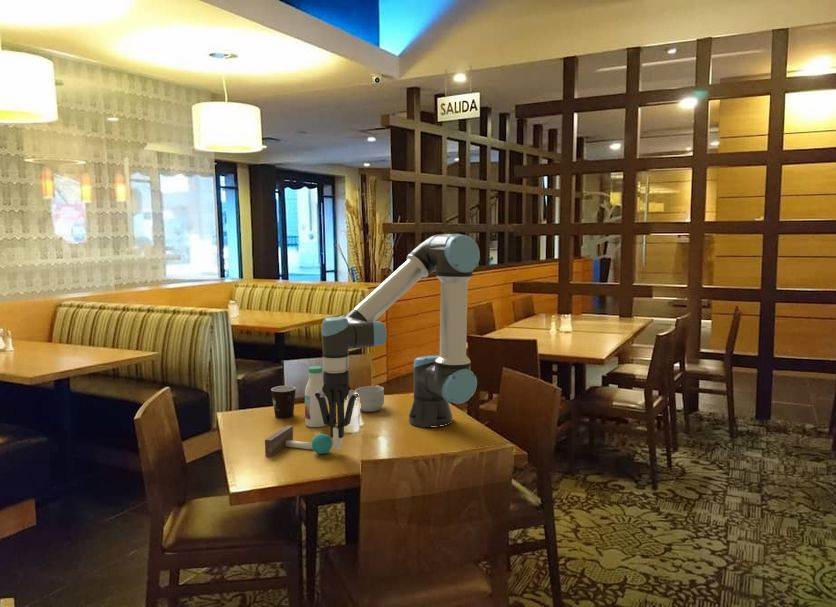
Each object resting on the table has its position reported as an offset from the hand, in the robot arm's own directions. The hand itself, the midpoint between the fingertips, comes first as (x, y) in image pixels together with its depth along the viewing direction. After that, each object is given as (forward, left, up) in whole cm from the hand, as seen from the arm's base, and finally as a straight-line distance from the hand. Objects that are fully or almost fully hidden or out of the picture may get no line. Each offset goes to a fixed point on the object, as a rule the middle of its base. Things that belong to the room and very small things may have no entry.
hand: (337, 447), depth 189 cm
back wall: (+19, 0, -2) cm, 19 cm away
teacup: (+6, -48, -2) cm, 48 cm away
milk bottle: (+18, -25, -2) cm, 31 cm away
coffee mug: (+33, -30, -2) cm, 45 cm away
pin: (+9, -2, -1) cm, 9 cm away
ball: (+5, +1, +1) cm, 5 cm away
